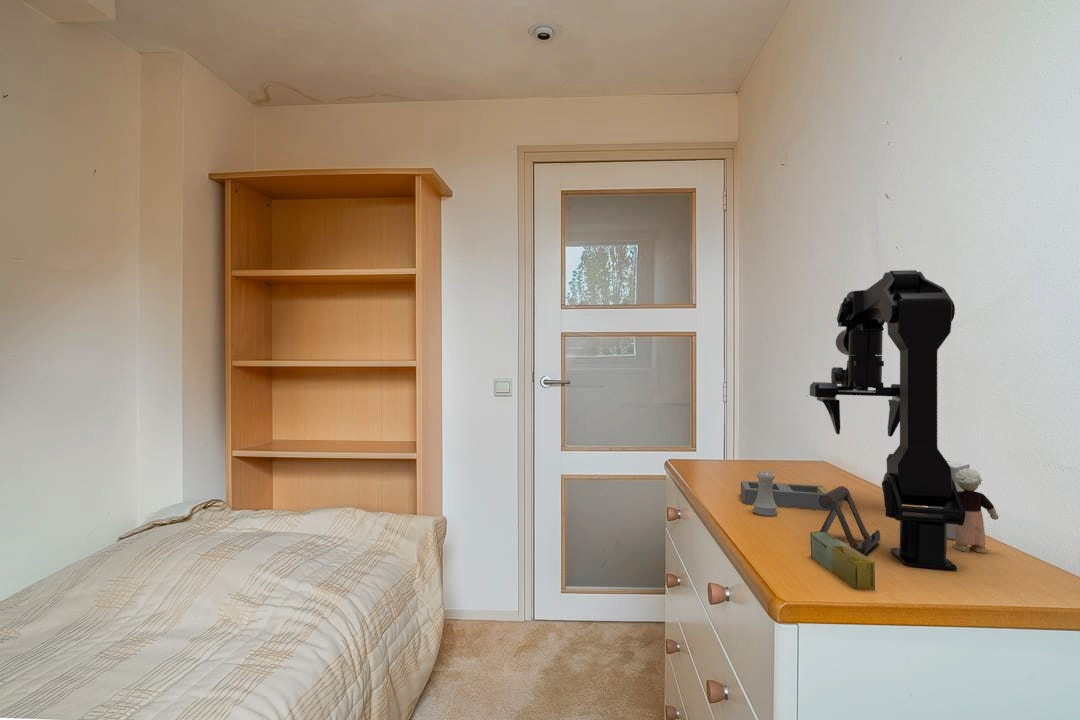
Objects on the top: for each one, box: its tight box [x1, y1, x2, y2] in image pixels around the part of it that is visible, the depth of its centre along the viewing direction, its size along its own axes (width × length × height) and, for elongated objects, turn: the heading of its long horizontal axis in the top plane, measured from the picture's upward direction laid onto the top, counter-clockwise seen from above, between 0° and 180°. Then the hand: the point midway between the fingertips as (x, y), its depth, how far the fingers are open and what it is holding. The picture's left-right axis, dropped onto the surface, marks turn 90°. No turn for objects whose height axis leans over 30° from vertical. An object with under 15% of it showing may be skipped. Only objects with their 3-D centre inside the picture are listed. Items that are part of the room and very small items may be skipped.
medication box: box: [809, 531, 876, 591], centre depth 78 cm, size 12×3×4 cm, turn 1°
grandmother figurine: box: [941, 468, 1000, 554], centre depth 88 cm, size 8×4×13 cm, turn 84°
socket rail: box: [740, 480, 830, 511], centre depth 115 cm, size 8×16×3 cm, turn 76°
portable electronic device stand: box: [818, 486, 881, 556], centre depth 89 cm, size 9×8×8 cm
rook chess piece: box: [752, 469, 779, 517], centre depth 106 cm, size 4×4×8 cm
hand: (863, 435), depth 110 cm, fingers open, 9 cm apart
